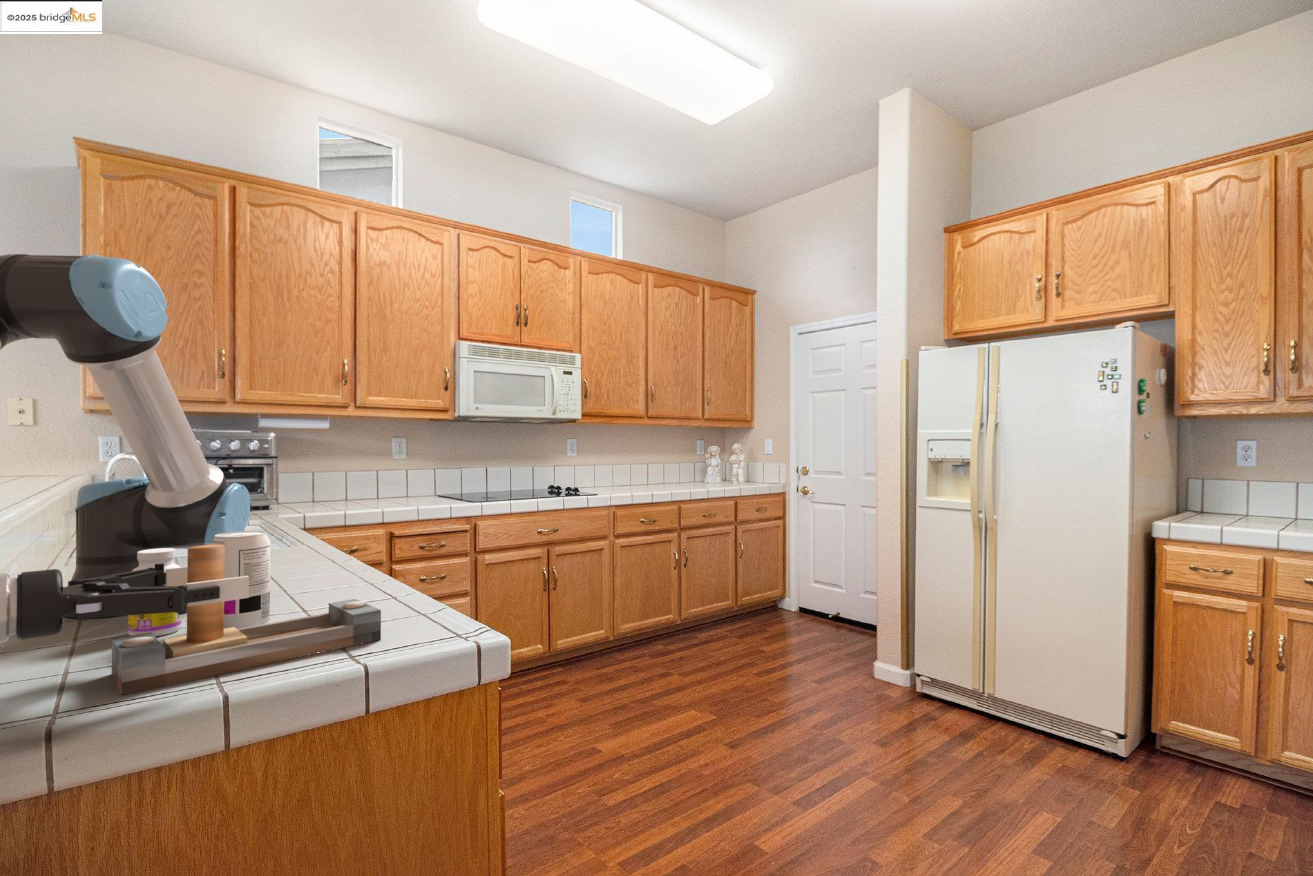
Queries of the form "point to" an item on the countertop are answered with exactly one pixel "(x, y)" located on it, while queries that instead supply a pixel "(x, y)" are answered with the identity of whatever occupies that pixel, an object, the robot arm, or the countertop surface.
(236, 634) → the carriage
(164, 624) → the supplement bottle
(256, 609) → the supplement can
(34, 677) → the countertop surface
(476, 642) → the countertop surface
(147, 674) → the track
